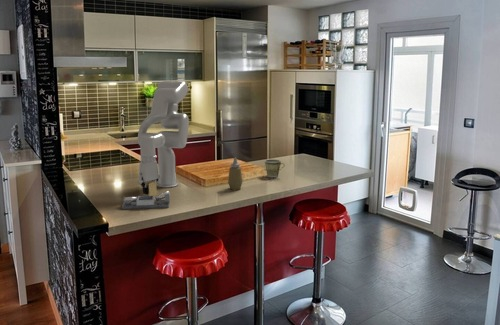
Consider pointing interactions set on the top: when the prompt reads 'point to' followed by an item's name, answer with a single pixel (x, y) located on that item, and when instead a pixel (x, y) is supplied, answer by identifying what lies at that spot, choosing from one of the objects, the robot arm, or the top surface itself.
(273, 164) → the ceramic cup
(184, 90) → the robot arm
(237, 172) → the squeeze bottle
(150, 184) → the beige rectangular block
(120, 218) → the top surface
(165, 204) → the shaft mount
